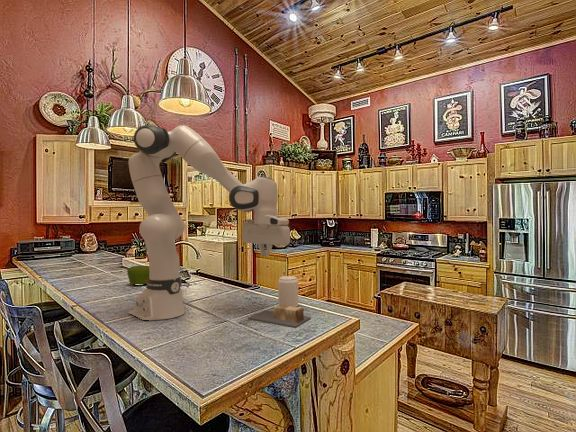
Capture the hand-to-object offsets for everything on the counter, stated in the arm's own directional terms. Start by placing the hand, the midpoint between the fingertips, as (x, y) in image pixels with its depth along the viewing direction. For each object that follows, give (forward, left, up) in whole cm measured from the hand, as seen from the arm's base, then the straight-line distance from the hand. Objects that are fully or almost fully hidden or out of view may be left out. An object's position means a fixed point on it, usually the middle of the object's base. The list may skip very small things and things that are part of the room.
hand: (265, 256), depth 129 cm
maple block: (+7, -2, -20) cm, 21 cm away
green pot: (-93, +13, -23) cm, 97 cm away
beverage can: (+2, +13, -23) cm, 26 cm away
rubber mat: (+8, -2, -22) cm, 24 cm away
